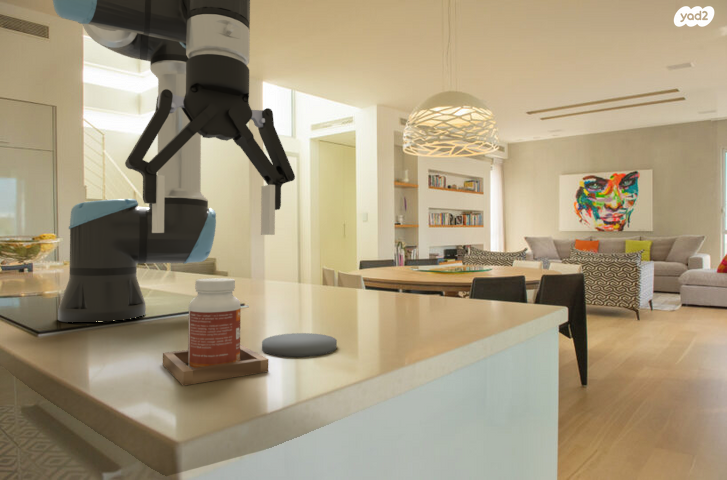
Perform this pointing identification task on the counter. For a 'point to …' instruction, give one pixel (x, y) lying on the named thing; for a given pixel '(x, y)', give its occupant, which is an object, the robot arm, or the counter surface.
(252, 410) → the counter surface
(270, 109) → the robot arm
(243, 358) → the socket
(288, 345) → the disc
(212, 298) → the pill bottle
